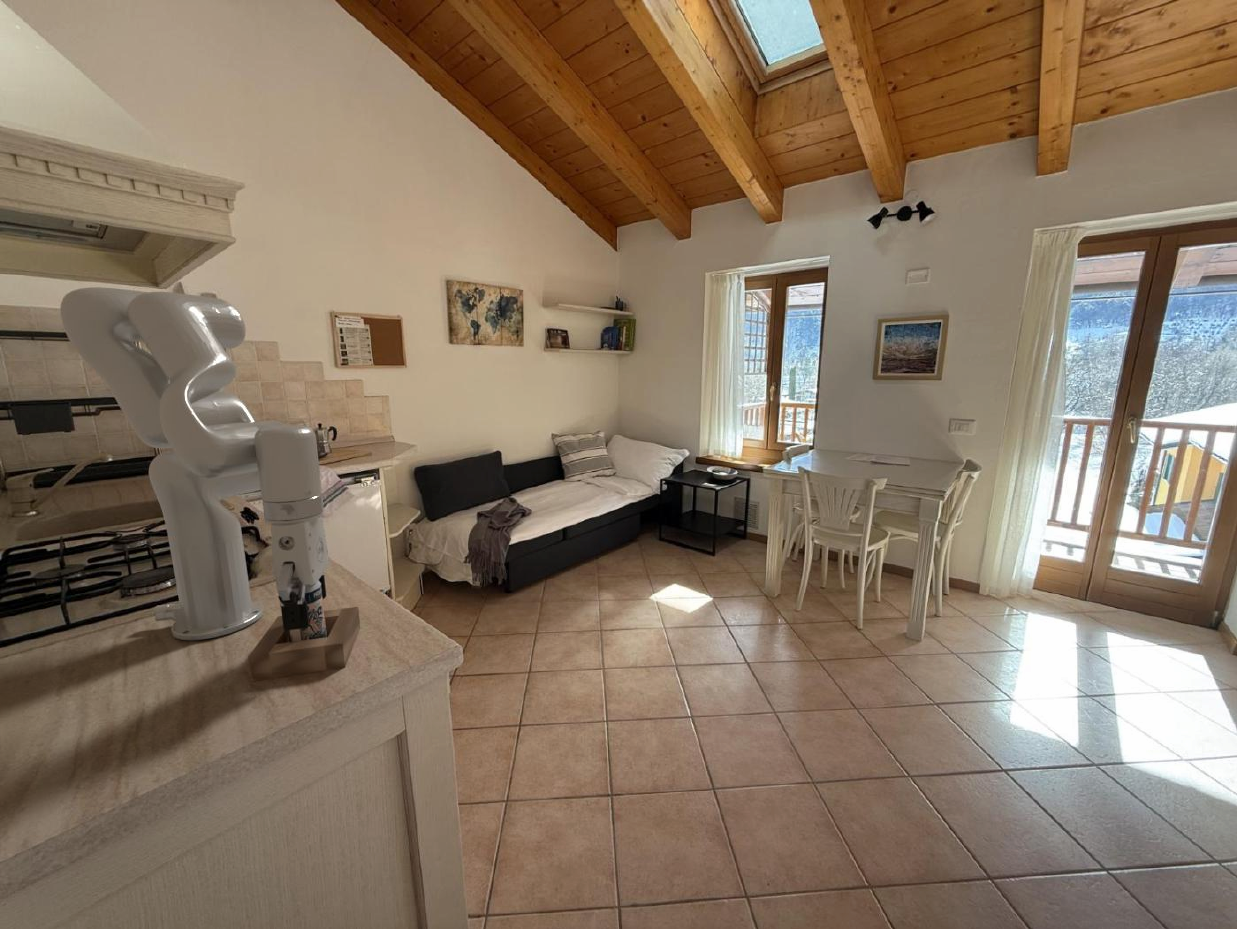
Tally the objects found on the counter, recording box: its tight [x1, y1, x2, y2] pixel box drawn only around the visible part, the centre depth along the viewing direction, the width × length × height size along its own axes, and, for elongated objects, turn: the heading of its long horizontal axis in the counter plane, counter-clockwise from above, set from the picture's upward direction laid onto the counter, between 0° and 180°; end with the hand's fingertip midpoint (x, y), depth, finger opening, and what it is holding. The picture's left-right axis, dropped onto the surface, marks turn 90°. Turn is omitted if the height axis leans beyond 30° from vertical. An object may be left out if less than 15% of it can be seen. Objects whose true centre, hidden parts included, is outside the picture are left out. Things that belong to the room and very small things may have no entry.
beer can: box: [290, 580, 327, 642], centre depth 77 cm, size 5×5×12 cm
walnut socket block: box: [248, 606, 361, 682], centre depth 78 cm, size 12×12×4 cm
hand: (306, 612), depth 77 cm, fingers open, 9 cm apart
